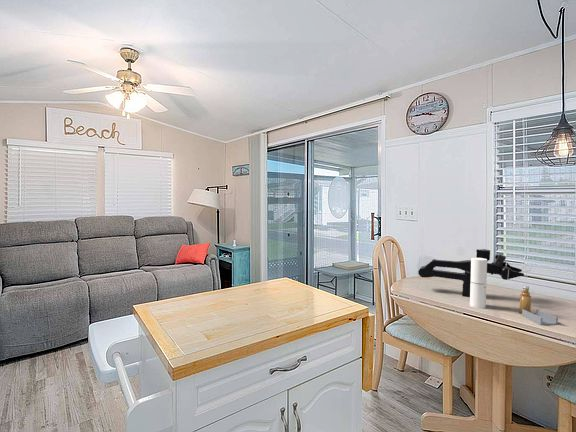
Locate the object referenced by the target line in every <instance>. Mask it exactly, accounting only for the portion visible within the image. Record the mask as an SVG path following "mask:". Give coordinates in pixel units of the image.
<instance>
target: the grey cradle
mask: <svg viewBox="0 0 576 432" xmlns="http://www.w3.org/2000/svg"><path fill="white" fill-rule="evenodd" d="M521 317H523V318H525V319H528V320H529V321H531V322H533V323H535V324H538V325H540V326H553V325H554V326H555V325H556V326H557V325H558V322H559V321H558V320H559V318H558V317H557V316H554V315H552V314H550V313H548V312H545V311H543V310H540V309H538V308H537V309H536V314H535V313H533V312H528V311H526V310H524V309H522V314H521ZM558 326H559V325H558Z"/></svg>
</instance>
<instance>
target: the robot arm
mask: <svg viewBox="0 0 576 432" xmlns="http://www.w3.org/2000/svg"><path fill="white" fill-rule="evenodd" d="M475 252H476V257H475V258H484V259H487V274H490V275H492V276H493V275H499V276H500V277H501V279H502V280H505V281H508V280H510V279H514V278H519V277H524V276H525V273H523V269H522V268H518V267H515V266H512V265H511V264H510V263H508V262H507V261H505V260H506V259H507V257H506V256H505V255H503V254H501V253H498V254H496V255H495V256H494V258H495V261H492V262H490V263H489V261H491V250H490V249H485V248H482V249H478V248H477V249H476V251H475ZM436 267H438V268H450V269H458V270H461V271H464V272H457V271H456V272H455V271H450V270H449V271H448V270H439V269H435V268H436ZM417 274H418V275H419V276H420V277H421V278H434V277H435V278H437V277H438V278H441V279H449V280H456V281H457V280H458V281H461V282H462V293H461V296H462V297H469V298H470V284H471V259H468V260H458V261H454V260H442V259H432V260H431V261H429V262H428V263H427V264H426V265H424V266H423V265H422V266H421V267H420V268H419V270H418V273H417Z"/></svg>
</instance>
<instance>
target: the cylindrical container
mask: <svg viewBox="0 0 576 432" xmlns="http://www.w3.org/2000/svg"><path fill="white" fill-rule="evenodd" d="M470 260H471V284H470V297H469V307H471V308H476V309H486V305H487V274H488V273H487V263H488V261H487V259H484V258H476V257H471V258H470Z"/></svg>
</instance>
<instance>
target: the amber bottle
mask: <svg viewBox="0 0 576 432" xmlns="http://www.w3.org/2000/svg"><path fill="white" fill-rule="evenodd" d="M522 309H524V310H526V311H528V312H531V311H532V296H531V293H530V286H528V285H523V286H522V291H521V294H520V295H519V314H520V315H522ZM531 313H532V312H531Z"/></svg>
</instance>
